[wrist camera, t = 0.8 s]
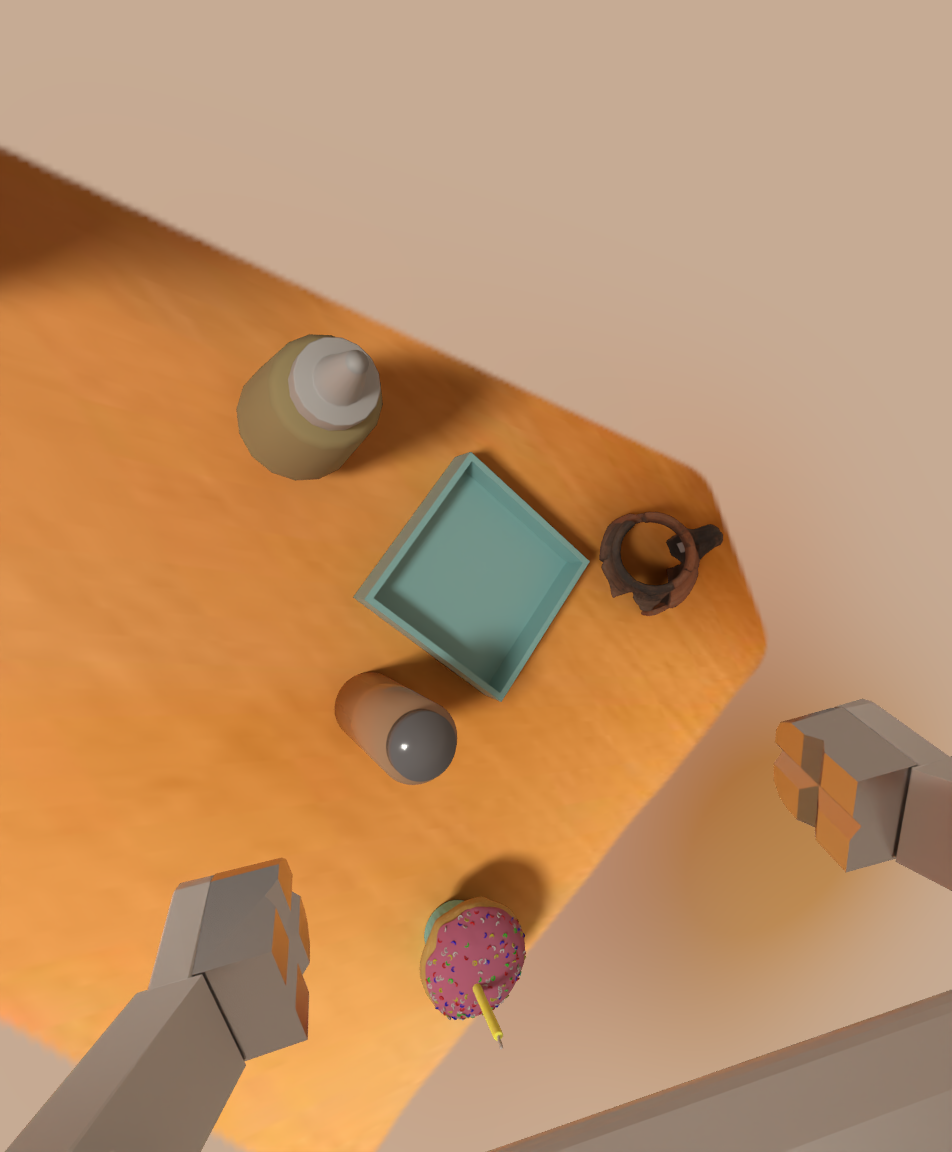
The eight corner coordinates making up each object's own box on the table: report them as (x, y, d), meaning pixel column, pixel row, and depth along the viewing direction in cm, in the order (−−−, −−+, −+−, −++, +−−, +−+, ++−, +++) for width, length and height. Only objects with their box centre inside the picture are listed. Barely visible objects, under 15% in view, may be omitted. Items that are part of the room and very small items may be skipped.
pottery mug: (622, 640, 61) (643, 625, 53) (567, 558, 63) (579, 531, 55) (725, 576, 62) (761, 552, 54) (669, 498, 64) (695, 463, 56)
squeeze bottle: (326, 364, 48) (409, 264, 31) (359, 470, 49) (455, 427, 33) (214, 385, 44) (242, 286, 28) (253, 499, 46) (300, 466, 29)
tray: (353, 597, 49) (364, 599, 46) (455, 457, 52) (470, 451, 50) (484, 694, 54) (501, 701, 51) (569, 561, 57) (589, 561, 55)
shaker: (320, 717, 48) (365, 763, 37) (361, 659, 49) (416, 687, 39) (374, 751, 50) (432, 805, 39) (412, 694, 51) (478, 731, 40)
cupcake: (445, 999, 53) (516, 1112, 42) (379, 940, 51) (438, 1044, 40) (514, 913, 56) (598, 999, 45) (455, 853, 53) (529, 928, 42)
